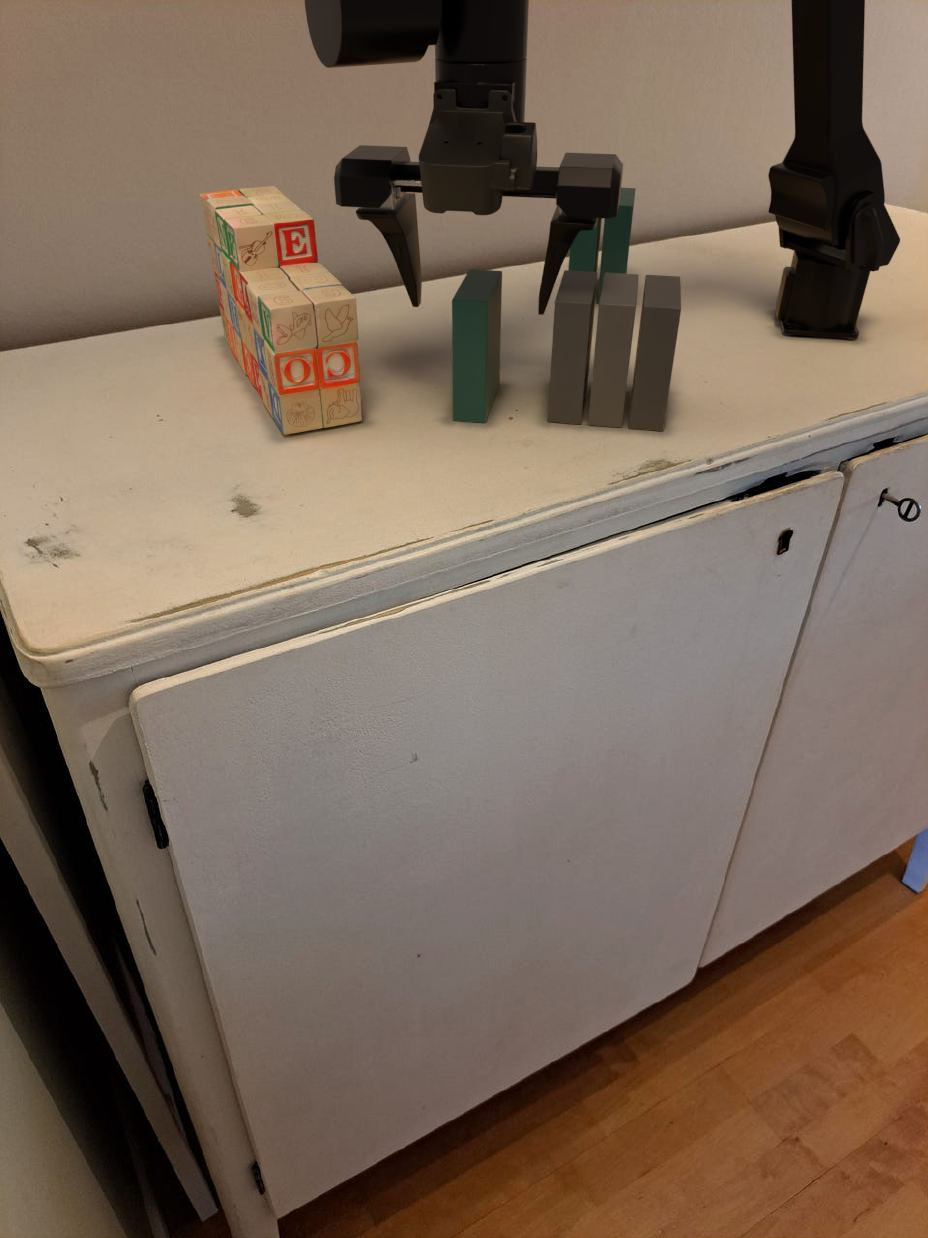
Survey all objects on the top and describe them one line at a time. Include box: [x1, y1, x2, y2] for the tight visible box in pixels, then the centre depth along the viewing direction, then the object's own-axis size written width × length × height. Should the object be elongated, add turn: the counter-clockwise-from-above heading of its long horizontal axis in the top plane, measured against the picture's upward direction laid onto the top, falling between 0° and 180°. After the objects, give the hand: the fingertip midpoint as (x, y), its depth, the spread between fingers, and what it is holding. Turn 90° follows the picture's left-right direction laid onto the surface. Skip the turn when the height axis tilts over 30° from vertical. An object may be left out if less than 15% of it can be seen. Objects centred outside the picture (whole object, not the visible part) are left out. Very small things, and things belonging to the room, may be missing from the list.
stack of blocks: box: [199, 185, 363, 436], centre depth 70 cm, size 21×6×12 cm, turn 23°
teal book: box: [451, 268, 503, 424], centre depth 67 cm, size 2×7×9 cm, turn 170°
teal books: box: [567, 187, 636, 305], centre depth 88 cm, size 6×7×9 cm
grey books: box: [547, 269, 682, 432], centre depth 67 cm, size 8×7×9 cm
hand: (478, 309), depth 66 cm, fingers open, 9 cm apart
